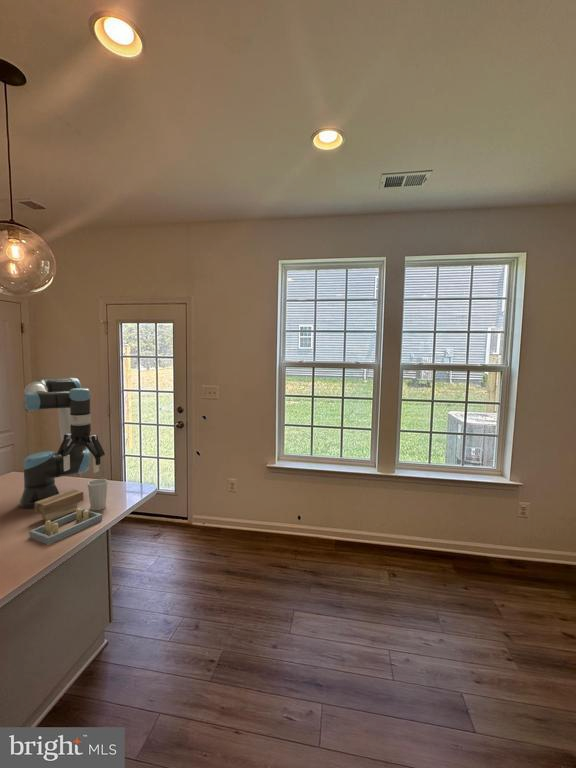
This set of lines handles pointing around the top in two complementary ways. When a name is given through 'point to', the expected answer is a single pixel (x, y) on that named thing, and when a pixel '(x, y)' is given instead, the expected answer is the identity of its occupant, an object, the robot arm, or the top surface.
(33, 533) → the frame
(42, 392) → the robot arm
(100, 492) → the cup
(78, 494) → the board
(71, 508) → the block
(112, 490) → the top surface
